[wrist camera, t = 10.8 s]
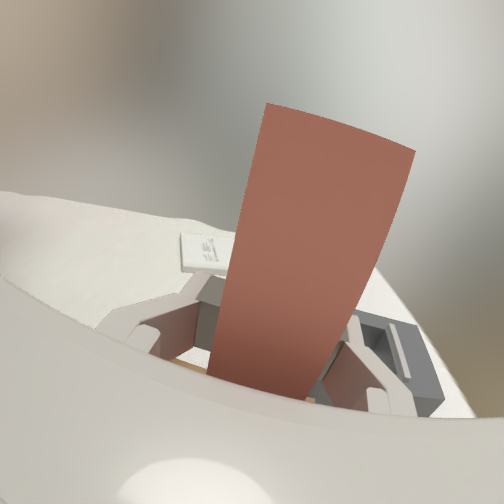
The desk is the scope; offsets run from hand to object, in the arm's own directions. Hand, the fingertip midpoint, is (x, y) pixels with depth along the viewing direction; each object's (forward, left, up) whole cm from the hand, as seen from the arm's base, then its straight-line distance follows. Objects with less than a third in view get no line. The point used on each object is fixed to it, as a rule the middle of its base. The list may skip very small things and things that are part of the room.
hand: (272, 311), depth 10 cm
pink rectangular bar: (0, -1, -8) cm, 8 cm away
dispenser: (+10, +10, -11) cm, 18 cm away
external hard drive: (-5, +23, -11) cm, 26 cm away
